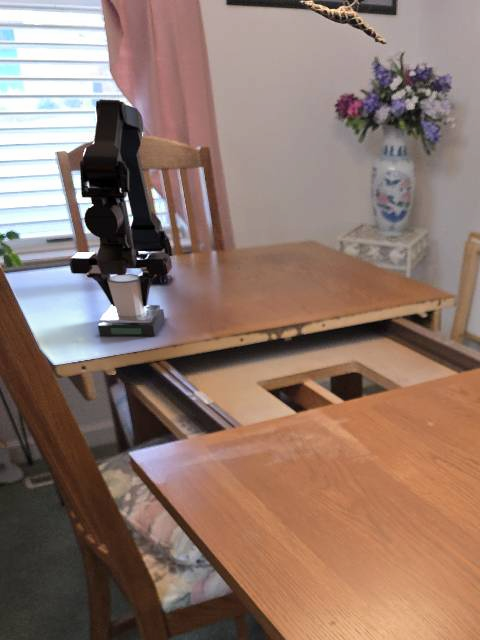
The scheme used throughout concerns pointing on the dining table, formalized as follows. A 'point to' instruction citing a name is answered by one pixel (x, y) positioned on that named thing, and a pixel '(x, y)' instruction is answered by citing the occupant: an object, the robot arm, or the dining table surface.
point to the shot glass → (126, 294)
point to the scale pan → (146, 317)
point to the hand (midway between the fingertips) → (129, 306)
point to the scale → (133, 327)
